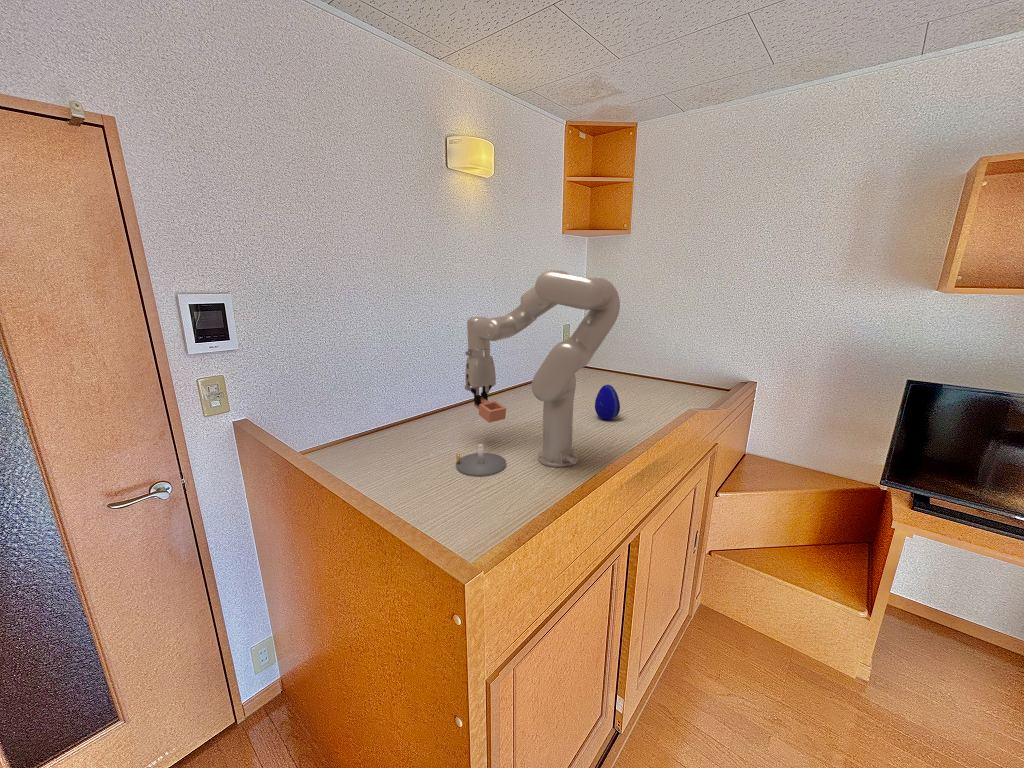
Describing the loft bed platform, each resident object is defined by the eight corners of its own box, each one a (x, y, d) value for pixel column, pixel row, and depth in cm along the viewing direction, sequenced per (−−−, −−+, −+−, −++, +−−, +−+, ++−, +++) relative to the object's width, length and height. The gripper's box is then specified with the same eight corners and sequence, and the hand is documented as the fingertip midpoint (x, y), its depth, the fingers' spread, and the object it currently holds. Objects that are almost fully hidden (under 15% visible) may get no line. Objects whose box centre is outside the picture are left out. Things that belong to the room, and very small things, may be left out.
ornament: (623, 421, 172) (625, 386, 168) (604, 424, 169) (606, 388, 165) (607, 413, 182) (609, 380, 178) (589, 416, 179) (591, 382, 175)
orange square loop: (505, 418, 141) (506, 408, 139) (489, 422, 137) (489, 411, 135) (484, 403, 151) (484, 393, 149) (468, 406, 147) (469, 396, 146)
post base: (516, 466, 130) (515, 445, 129) (473, 481, 121) (472, 458, 119) (487, 451, 143) (487, 431, 141) (446, 463, 133) (445, 442, 132)
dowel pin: (461, 463, 131) (460, 454, 131) (457, 464, 131) (457, 455, 130) (459, 462, 132) (458, 453, 132) (455, 463, 132) (455, 454, 131)
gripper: (464, 357, 134) (466, 411, 139) (504, 352, 143) (505, 403, 148) (453, 354, 140) (456, 406, 144) (492, 349, 149) (494, 398, 153)
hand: (481, 404), depth 146 cm, fingers closed on orange square loop, 2 cm apart
